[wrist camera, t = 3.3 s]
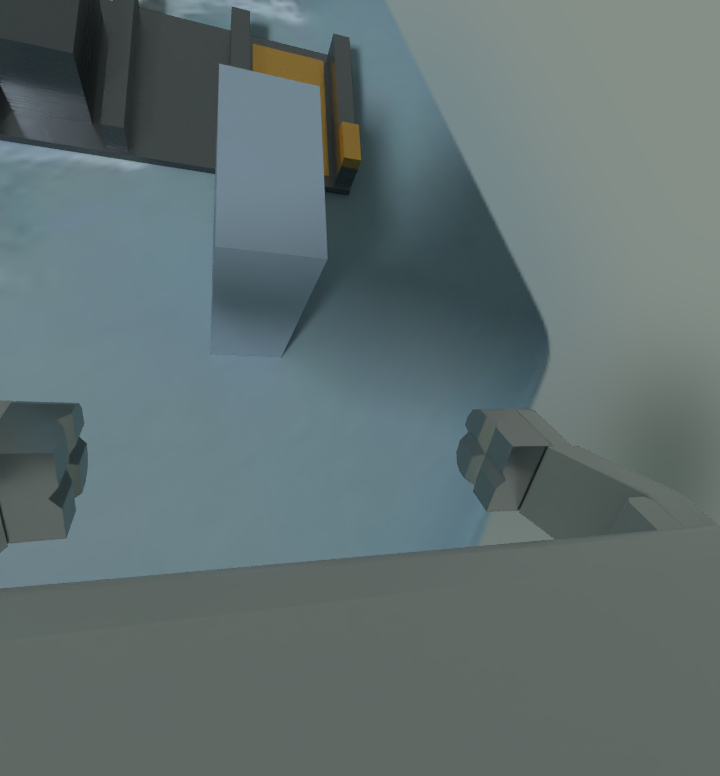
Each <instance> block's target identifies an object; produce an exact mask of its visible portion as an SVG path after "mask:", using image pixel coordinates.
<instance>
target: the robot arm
mask: <svg viewBox="0 0 720 776" xmlns="http://www.w3.org/2000/svg"><path fill="white" fill-rule="evenodd" d="M465 425H466V428H467V430H468V433H467V434H466V435H465V436H464V437H463V438H462V439H461V440H460V442H459V445H458V449H457V465H458V468H459V471H460V473H461V474H462V476H463V477H464V479H466V480H467V481H469V482H471V483H472V484H474V489H473V492H474V494H475V495H476V497H477V498H478V500H479V501H480V503H481V504H482V506H483V507H484V508H485V510H486V511H487V512H494V511H519V513H520V514H522V515H523V516H525V517H526V518H527V519H529V520H530V521H531V522H533V523H534V524H535V525H537V526H538V527H539V528H541V529H542V530H543V531H545V532H546V533H547V534H549V535H550V536H551V537H553V538H554V540H542V541H532V542H521V543H509V544H499V545H486V546H475V547H464V548H453V549H441V550H430V551H419V552H408V553H397V554H386V555H375V556H363V557H352V558H341V559H330V560H318V561H307V562H296V563H284V564H273V565H262V566H251V567H239V568H228V569H217V570H206V571H194V572H183V573H172V574H161V575H149V576H138V577H127V578H116V579H104V580H93V581H82V582H71V583H59V584H48V585H37V586H25V587H14V588H3V589H0V776H720V525H718V524H717V523H716V522H714V521H713V520H712V519H711V518H710V517H708V516H707V515H706V514H705V513H704V512H702V511H701V510H700V509H699V508H698V507H696V506H695V505H694V504H693V503H691V502H690V501H689V500H688V499H687V498H686V497H684V496H683V495H682V494H680V493H678V492H676V491H674V490H672V489H670V488H668V487H665V486H663V485H661V484H659V483H657V482H655V481H653V480H650V479H648V478H646V477H644V476H642V475H639V474H637V473H635V472H633V471H631V470H629V469H626V468H624V467H622V466H620V465H618V464H616V463H613V462H611V461H609V460H607V459H604V458H603V457H600V456H598V455H596V454H594V453H591V452H589V451H587V450H585V449H583V448H581V447H579V446H572V445H571V444H570V443H568V442H567V441H566V440H565V439H564V438H563V437H562V436H561V435H560V434H559V433H558V432H557V431H555V429H554V428H553V427H551V426H550V425H549V424H548V423H547V422H546V421H545V420H544V419H543V418H542V417H541V416H540V415H538V413H536V411H534V410H531V409H529V408H524V409H476V410H472V411H471V413H470V414H469V415H468V418H467V421H466V424H465ZM83 426H84V418H83V412H82V407H81V406H80V404H79V403H58V402H26V401H16V402H14V401H0V552H1V551H3V550H4V549H5V548H6V547H7V546H8V545H7V544H8V543H19V542H31V541H42V540H54V539H65V538H67V535H68V532H69V529H70V526H71V523H72V521H73V518H74V515H75V512H76V506H75V499H74V498H76V497H77V496H78V495H80V494H81V493H82V491H83V488H84V485H85V482H86V475H87V468H88V452H87V443H86V442H84V441H83V440H82V439H81V438H80V437H79V436H80V433H81V431H82V428H83Z"/></svg>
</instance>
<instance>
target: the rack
mask: <svg viewBox="0 0 720 776" xmlns="http://www.w3.org/2000/svg"><path fill="white" fill-rule="evenodd" d="M219 64H223V65H228V66H232V67H237V68H241V69H245V70H250V71H254V72H259V73H263V74H267V75H272V76H276V77H281V78H285V79H289V80H294V81H298V82H303V83H307V84H312V85H316V86H320V102H321V124H322V145H323V167H324V189H325V191H327V192H333V193H340V194H346V195H349V192H350V187H351V185H352V182H353V180H354V178H355V176H356V173H357V171H358V167H359V165H360V162H361V148H360V134H359V125H358V124H355V115H354V100H353V86H352V71H351V57H350V42H349V38H348V37H344V36H341V35H337V34H333V37H332V41H331V45H330V49H329V52H328V55H326V54H322V53H318V52H314V51H310V50H306V49H302V48H298V47H294V46H290V45H286V44H282V43H278V42H274V41H270V40H266V39H262V38H258V37H254V36H250V11H247V10H243V9H239V8H235V7H232V14H231V31H230V30H226V29H222V28H218V27H214V26H210V25H206V24H202V23H198V22H194V21H190V20H186V19H182V18H178V17H174V16H170V15H166V14H162V13H158V12H154V11H150V10H146V9H142V8H139V2H138V0H113V1H110V0H0V140H3V141H10V142H16V143H23V144H29V145H35V146H42V147H48V148H54V149H61V150H67V151H73V152H80V153H86V154H92V155H99V156H105V157H111V158H118V159H124V160H130V161H137V162H143V163H149V164H156V165H162V166H168V167H175V168H181V169H187V170H194V171H200V172H207V173H213V174H215V169H216V140H217V112H218V84H219Z"/></svg>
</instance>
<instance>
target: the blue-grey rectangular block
mask: <svg viewBox="0 0 720 776" xmlns="http://www.w3.org/2000/svg"><path fill="white" fill-rule="evenodd" d="M327 260H328V253H327V232H326V210H325V189H324V167H323V145H322V124H321V102H320V86H316V85H312V84H307V83H303V82H298V81H294V80H289V79H285V78H281V77H276V76H272V75H267V74H263V73H259V72H254V71H250V70H245V69H241V68H237V67H232V66H228V65H223V64H219V84H218V112H217V140H216V169H215V197H214V225H213V265H212V308H211V351H210V354H213V355H236V356H259V357H282V355H283V352H284V350H285V348H286V346H287V344H288V342H289V340H290V338H291V336H292V333H293V331H294V329H295V327H296V325H297V323H298V321H299V319H300V317H301V314H302V312H303V310H304V308H305V306H306V304H307V302H308V300H309V298H310V295H311V293H312V291H313V289H314V287H315V285H316V283H317V281H318V279H319V276H320V274H321V272H322V270H323V268H324V266H325V264H326V262H327Z"/></svg>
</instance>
